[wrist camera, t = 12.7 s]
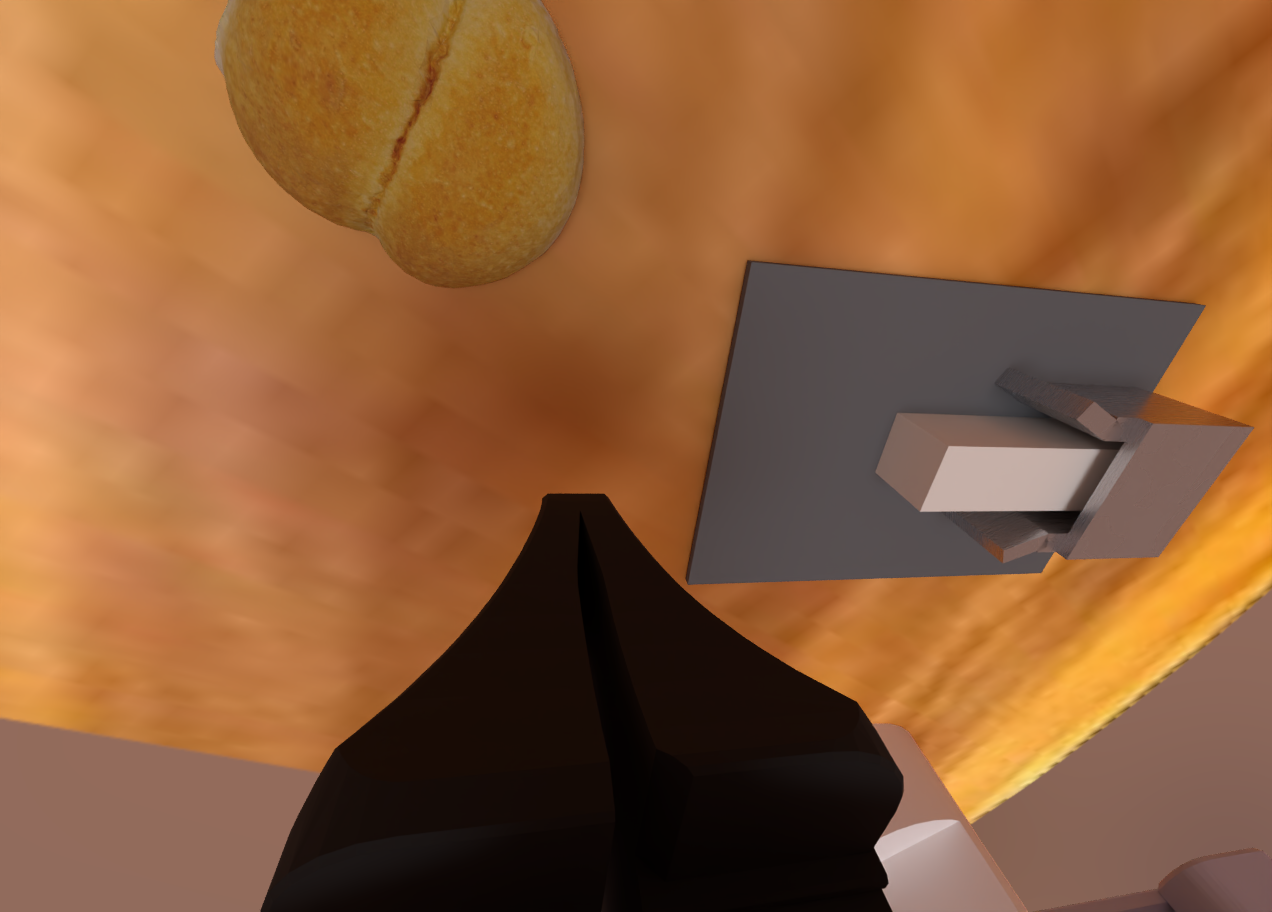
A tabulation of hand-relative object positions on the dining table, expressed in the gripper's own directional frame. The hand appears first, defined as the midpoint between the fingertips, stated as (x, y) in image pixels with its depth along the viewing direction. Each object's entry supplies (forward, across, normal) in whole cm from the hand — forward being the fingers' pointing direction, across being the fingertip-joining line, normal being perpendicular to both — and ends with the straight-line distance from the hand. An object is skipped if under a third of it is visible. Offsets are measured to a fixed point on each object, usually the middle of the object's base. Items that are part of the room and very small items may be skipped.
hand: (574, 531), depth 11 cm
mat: (+9, -17, +2) cm, 20 cm away
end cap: (+9, -23, +2) cm, 25 cm away
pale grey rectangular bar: (+9, -20, +2) cm, 22 cm away
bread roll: (+10, +4, -8) cm, 13 cm away
